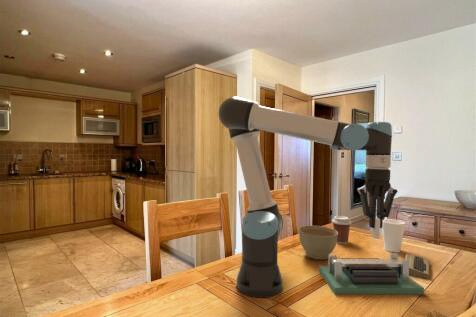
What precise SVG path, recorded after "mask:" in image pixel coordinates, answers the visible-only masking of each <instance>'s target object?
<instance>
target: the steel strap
mask: <svg viewBox="0 0 476 317" xmlns="http://www.w3.org/2000/svg"><path fill="white" fill-rule="evenodd" d="M335 261H341V262H342V267H401V260H399V258H398V259H390V258H379V259H341V258H335V259H334V258H332V259H331V262H332V263H333V265H334V266H335Z"/></svg>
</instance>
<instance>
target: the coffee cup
mask: <svg viewBox="0 0 476 317" xmlns="http://www.w3.org/2000/svg"><path fill="white" fill-rule="evenodd" d="M331 223H332V225H333V226H332V227H333V228H332V229H334V230H336V231H337V232H338V236H337V243H336V244H341V245H344V244H345V245H347V244H348V243H349V239H350V238H349V235H350V227H351V226H350V225H352V221H351V219H350V217H348V216H345V215H335V216H334V217H333V218H332V219H331Z"/></svg>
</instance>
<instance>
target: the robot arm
mask: <svg viewBox="0 0 476 317" xmlns="http://www.w3.org/2000/svg"><path fill="white" fill-rule="evenodd" d="M218 118H219V121H220V123H221V124H222V125H223V127H224V128H226V129H228V133H229V137H230V140H231V141H233V143H235V146H236V149H237V154H238V159H239V163H240V167H241V172H242V176H243V179H244V186H245V188H246V193H247V198H248V201H249V205H248V207H247V208H246V211H247V214H245V215H244V217H242V221H241V222H242V223H241V232H242V233H241V238H242V239H241V242H242V243H241V245H242V246H241V264H240V267H239V271H238V274H237V276H236V288H237V289H238V290H239V292H240V293H242V294H244V295H245V296H246V295H247V296H249V297H252V298H253V297H254V298H271V297H273V296H276V295H278V294H280V293H281V292H282V291H283V286H284V283H283V277H282V273H281V271H280V267H279V262H278V246H279V245H278V243H279V238H280V235H281V233H282V231H283V228H284V219H283V216H282V214H281V212H280V211H279V206H278V202H277V201H276V200H274V199H273V198H272V194H271V189H270V185H269V181H268V177H267V172H266V168H265V164H264V160H263V156H262V151H261V146H260V143H259V139H258V138H259V135H260V134H261V131H263V132H264V131H265V132H268V133H274V134H278V135H283V136H288V137H291V138H296V139H301V140H305V141H310V142H315V143H318V144H319V143H320V144H324V145H329V148H330V149H331V150H333V151H365V167H366V168H365V173H364V174H365V175H364V179H365V182H364V183H363V186H361V187H357V188H356V191H357V192H358V194H359V197H360V203H361V208H362V212H363V215H364V216H365V217H368V218H369V219H368V220H369V222H368V225H369V228H371V231H370V232H371V233H370V234H371V237H372V238H373V239H381V238H380V237H381V236H380V234H381V229H382V223H383V220H384V219H386V218H389V216H390V214H391V213H390V212H391V210H392V206H393V202H394V198H395V196H396V195H397V193H398V189H396V188H393V187H392V184H391V182H390V181H391V169H389V168H391V160H392V139H393V138H392V137H393V133H392V132H393V130H392V129H393V127H392V124H391V123H390V122H388V121H373V122H368V123H367V124H366V126H364V125H362V124H360V123H347V122H342V121H338V120H332V119H326V118H322V117H318V116H317V117H316V116H314V115H313V116H311V115H306V114H303V113H302V114H301V113H297V112H292V111H286V110H284V109H283V110H282V109H278V108H271V107H266V106H262V105H260V104H259V103H258V102H257V101H253V100H251V99H246V98H243V97H239V96H230V97H228V98H225V99H224V100H223V101H222V102H221V104H220V105H219V108H218ZM367 192H368V197H367ZM368 199H369V200H368Z"/></svg>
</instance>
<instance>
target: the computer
mask: <svg viewBox="0 0 476 317" xmlns="http://www.w3.org/2000/svg"><path fill="white" fill-rule="evenodd" d="M404 260H407V261H409V276H414V277H417V278H422V279H427V280H429V279H430V276H431V275H430V274H431V273H430V260H429V259H427V258H425V257H421V256H417V255H414V254H412V253H411V254H409V253H406V254H405V257H404Z"/></svg>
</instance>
